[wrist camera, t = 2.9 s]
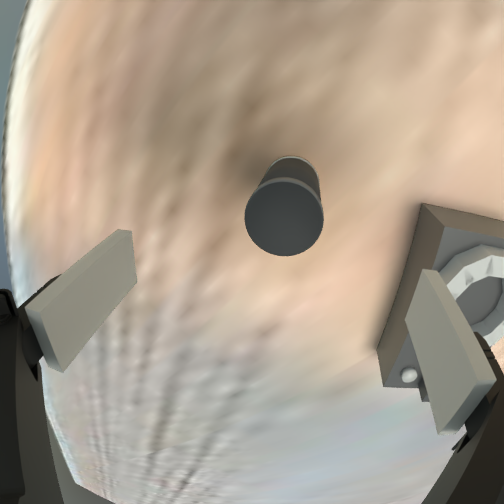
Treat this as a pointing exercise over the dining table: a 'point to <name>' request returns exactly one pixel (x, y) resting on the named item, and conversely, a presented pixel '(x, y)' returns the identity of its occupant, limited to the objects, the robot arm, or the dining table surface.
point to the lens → (286, 208)
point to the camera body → (456, 279)
